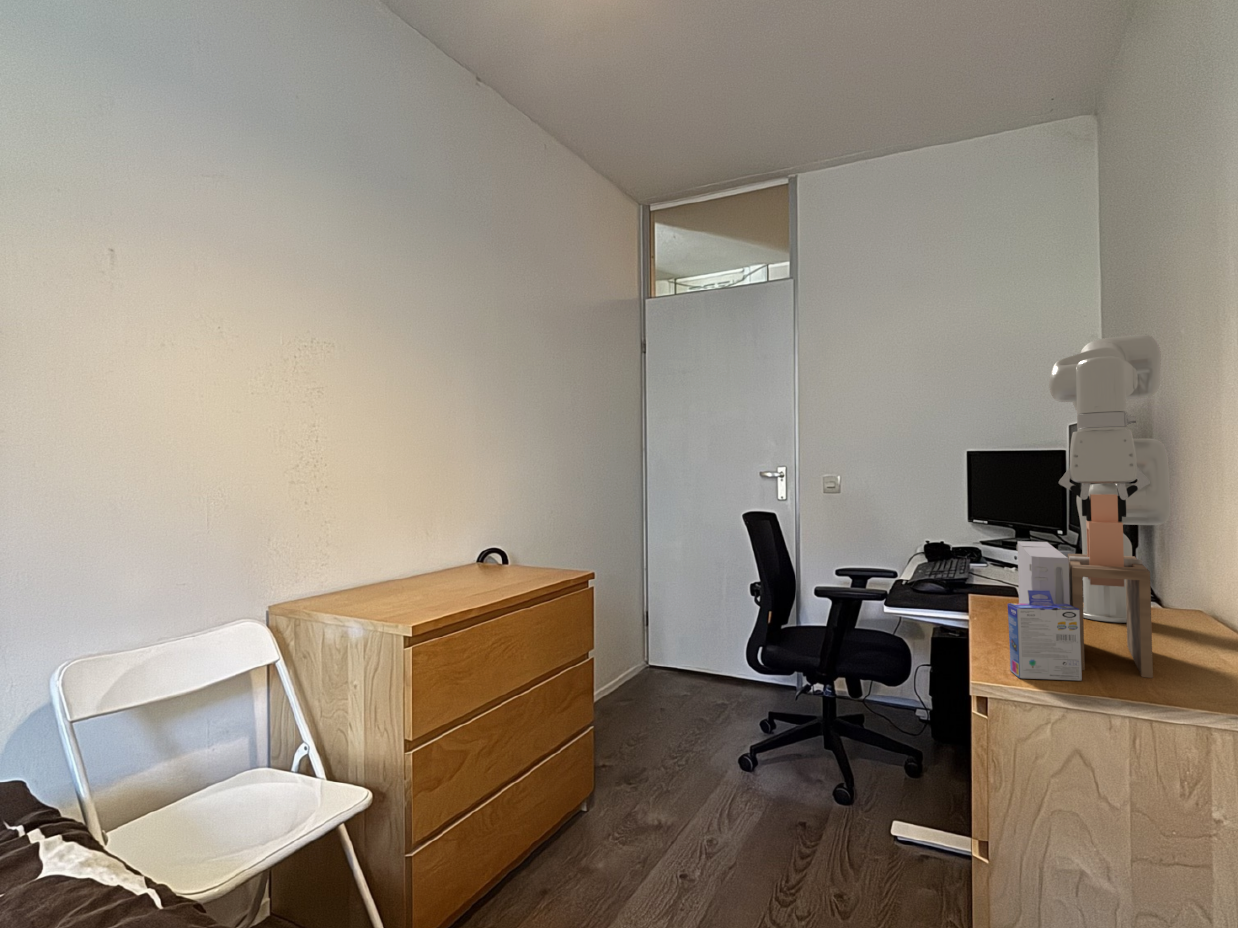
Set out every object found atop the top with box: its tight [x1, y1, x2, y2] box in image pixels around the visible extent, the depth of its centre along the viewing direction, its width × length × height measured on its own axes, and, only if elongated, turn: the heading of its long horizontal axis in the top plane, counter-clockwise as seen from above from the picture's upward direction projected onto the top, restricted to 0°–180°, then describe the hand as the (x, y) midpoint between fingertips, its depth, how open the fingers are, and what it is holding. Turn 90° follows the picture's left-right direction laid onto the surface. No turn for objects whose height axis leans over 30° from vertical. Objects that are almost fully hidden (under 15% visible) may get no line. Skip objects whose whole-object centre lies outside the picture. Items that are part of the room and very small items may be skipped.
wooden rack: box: [1067, 553, 1154, 679], centre depth 125 cm, size 22×11×19 cm, turn 148°
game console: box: [1016, 540, 1070, 605], centre depth 132 cm, size 6×27×20 cm, turn 154°
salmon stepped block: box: [1086, 494, 1124, 587], centre depth 125 cm, size 8×5×16 cm, turn 148°
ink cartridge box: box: [1007, 590, 1083, 682], centre depth 116 cm, size 10×6×14 cm, turn 78°
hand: (1103, 519), depth 126 cm, fingers closed on salmon stepped block, 4 cm apart
